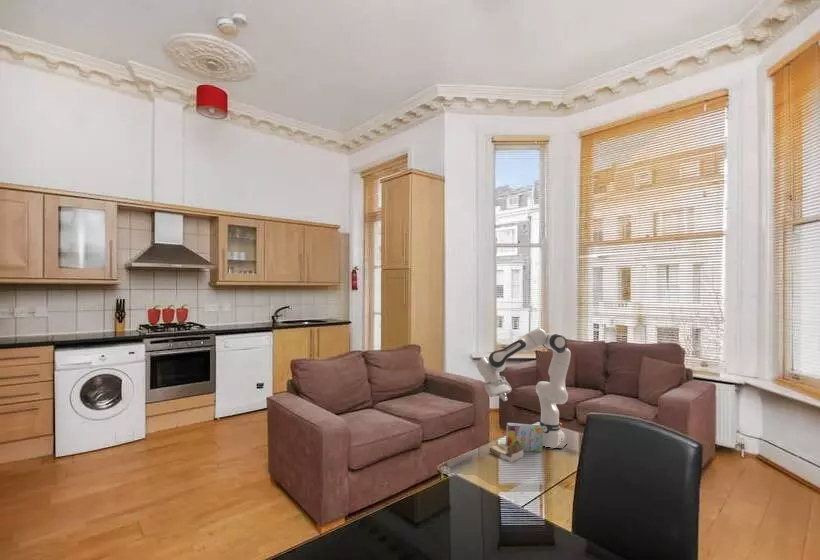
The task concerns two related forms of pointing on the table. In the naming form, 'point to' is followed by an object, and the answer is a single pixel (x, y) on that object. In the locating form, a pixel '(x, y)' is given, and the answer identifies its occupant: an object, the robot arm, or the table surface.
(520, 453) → the tray
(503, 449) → the birch board
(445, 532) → the table surface
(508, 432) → the snack box
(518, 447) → the walnut block
